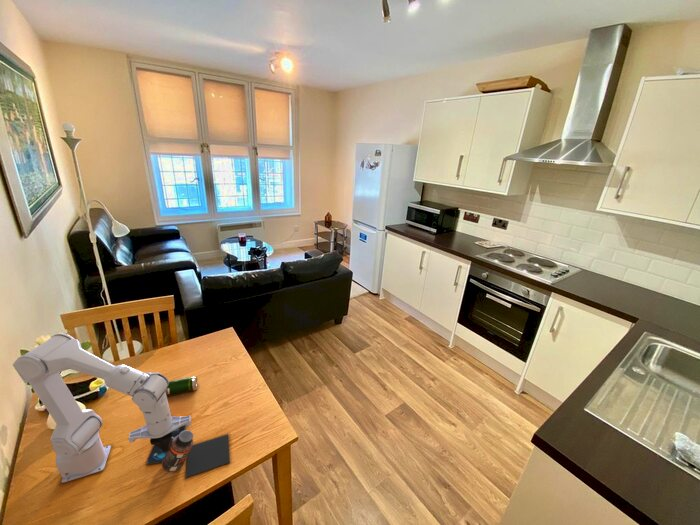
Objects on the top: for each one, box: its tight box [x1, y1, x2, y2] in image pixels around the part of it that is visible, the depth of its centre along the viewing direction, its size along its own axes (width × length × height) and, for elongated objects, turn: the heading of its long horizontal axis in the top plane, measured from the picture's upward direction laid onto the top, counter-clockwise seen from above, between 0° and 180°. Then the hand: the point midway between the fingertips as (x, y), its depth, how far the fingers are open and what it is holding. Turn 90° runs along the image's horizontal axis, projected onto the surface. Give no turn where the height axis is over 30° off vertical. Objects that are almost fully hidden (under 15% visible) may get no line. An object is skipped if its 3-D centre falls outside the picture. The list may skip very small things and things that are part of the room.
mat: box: [185, 434, 231, 479], centre depth 90 cm, size 12×10×1 cm
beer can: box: [165, 376, 198, 397], centre depth 111 cm, size 5×5×12 cm
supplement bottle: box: [161, 429, 194, 474], centre depth 85 cm, size 6×6×11 cm
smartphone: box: [146, 425, 187, 465], centre depth 94 cm, size 8×1×15 cm
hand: (166, 448), depth 83 cm, fingers closed
